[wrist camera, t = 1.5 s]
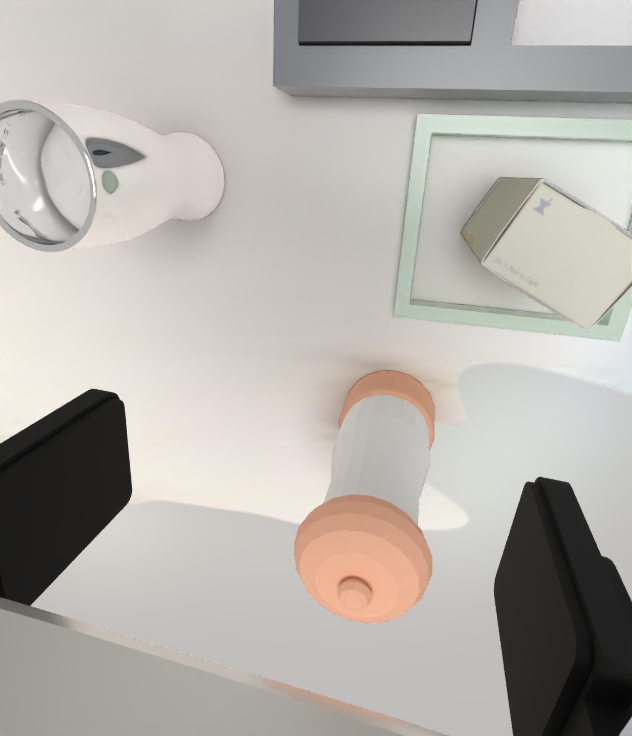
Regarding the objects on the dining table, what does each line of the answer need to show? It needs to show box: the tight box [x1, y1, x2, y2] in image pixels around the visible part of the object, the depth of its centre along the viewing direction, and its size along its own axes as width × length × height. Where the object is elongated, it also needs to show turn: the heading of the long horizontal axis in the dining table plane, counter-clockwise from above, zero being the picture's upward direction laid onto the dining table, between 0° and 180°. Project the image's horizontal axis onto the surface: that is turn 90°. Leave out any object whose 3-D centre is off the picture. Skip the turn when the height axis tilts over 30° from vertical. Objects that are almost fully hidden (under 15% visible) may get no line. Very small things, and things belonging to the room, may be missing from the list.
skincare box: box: [461, 177, 632, 332], centre depth 26 cm, size 6×4×12 cm
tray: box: [394, 114, 632, 342], centre depth 31 cm, size 13×15×2 cm
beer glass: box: [0, 100, 224, 252], centre depth 28 cm, size 7×7×15 cm
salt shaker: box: [294, 371, 434, 623], centre depth 30 cm, size 7×7×19 cm
